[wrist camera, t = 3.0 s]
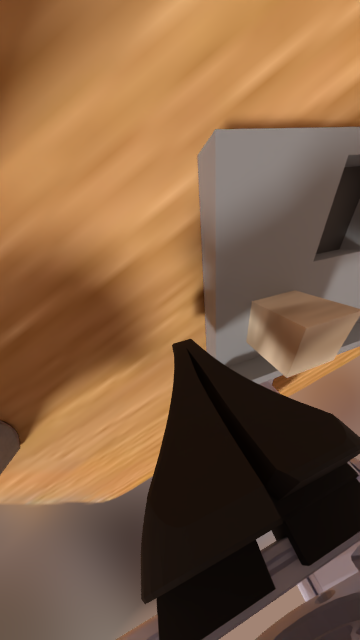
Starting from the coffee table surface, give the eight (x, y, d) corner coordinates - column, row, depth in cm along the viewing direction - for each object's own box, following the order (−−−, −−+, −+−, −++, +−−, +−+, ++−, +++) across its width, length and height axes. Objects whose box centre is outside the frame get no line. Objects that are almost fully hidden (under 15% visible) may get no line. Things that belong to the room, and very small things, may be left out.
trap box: (374, 308, 20) (423, 322, 17) (207, 363, 16) (227, 396, 12) (482, 141, 12) (620, 99, 8) (197, 155, 7) (248, 81, 4)
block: (282, 330, 13) (333, 360, 10) (246, 342, 13) (286, 377, 9) (294, 290, 11) (363, 309, 8) (251, 301, 11) (306, 327, 7)
